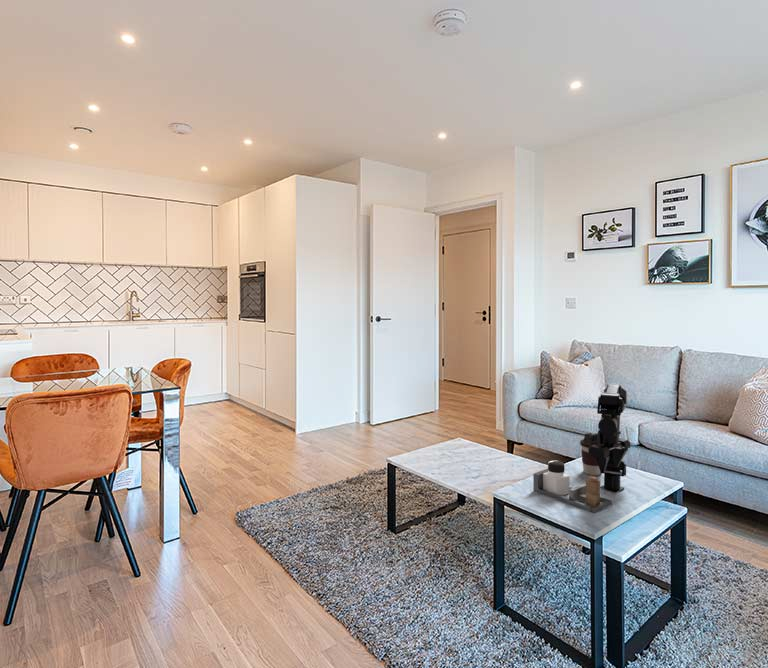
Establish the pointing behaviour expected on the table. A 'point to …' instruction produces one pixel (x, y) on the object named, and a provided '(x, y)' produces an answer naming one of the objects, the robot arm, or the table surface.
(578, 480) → the table surface
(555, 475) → the medicine bottle
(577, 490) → the press carriage
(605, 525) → the table surface
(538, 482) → the frame
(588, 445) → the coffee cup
